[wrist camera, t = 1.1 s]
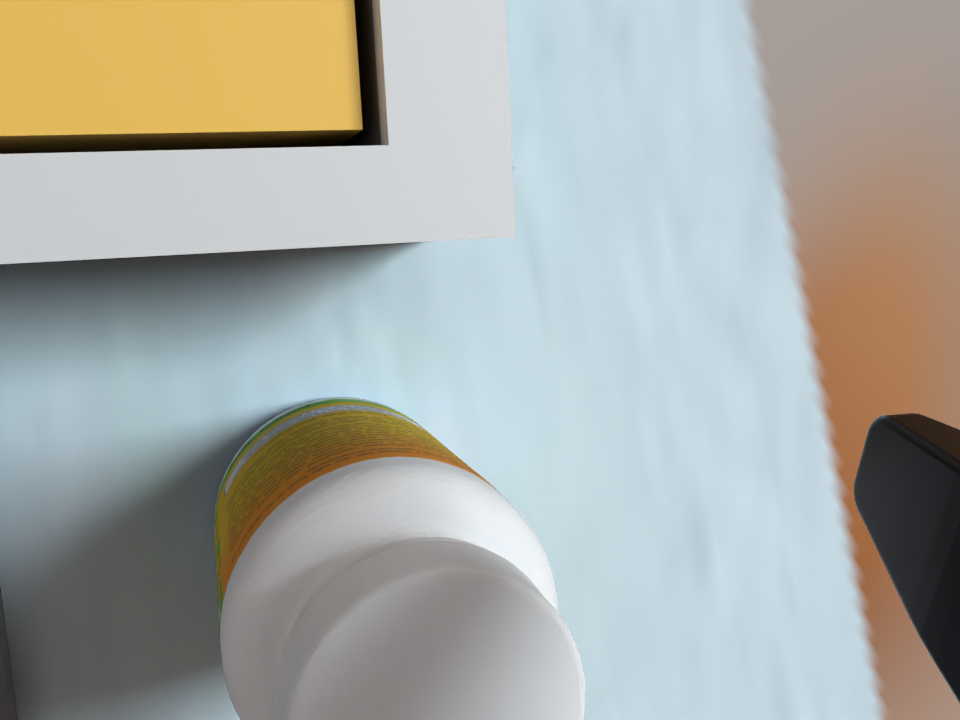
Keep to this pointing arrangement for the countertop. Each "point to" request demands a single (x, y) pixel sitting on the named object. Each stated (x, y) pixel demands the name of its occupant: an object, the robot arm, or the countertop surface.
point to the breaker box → (303, 162)
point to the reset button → (177, 75)
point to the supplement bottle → (381, 579)
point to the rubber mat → (5, 675)
